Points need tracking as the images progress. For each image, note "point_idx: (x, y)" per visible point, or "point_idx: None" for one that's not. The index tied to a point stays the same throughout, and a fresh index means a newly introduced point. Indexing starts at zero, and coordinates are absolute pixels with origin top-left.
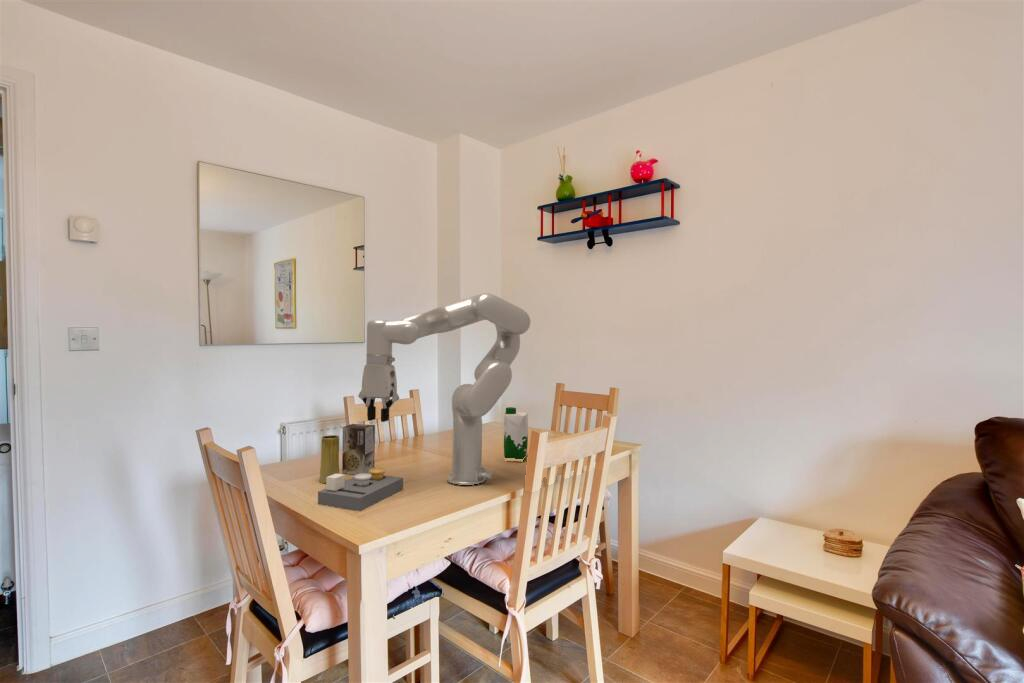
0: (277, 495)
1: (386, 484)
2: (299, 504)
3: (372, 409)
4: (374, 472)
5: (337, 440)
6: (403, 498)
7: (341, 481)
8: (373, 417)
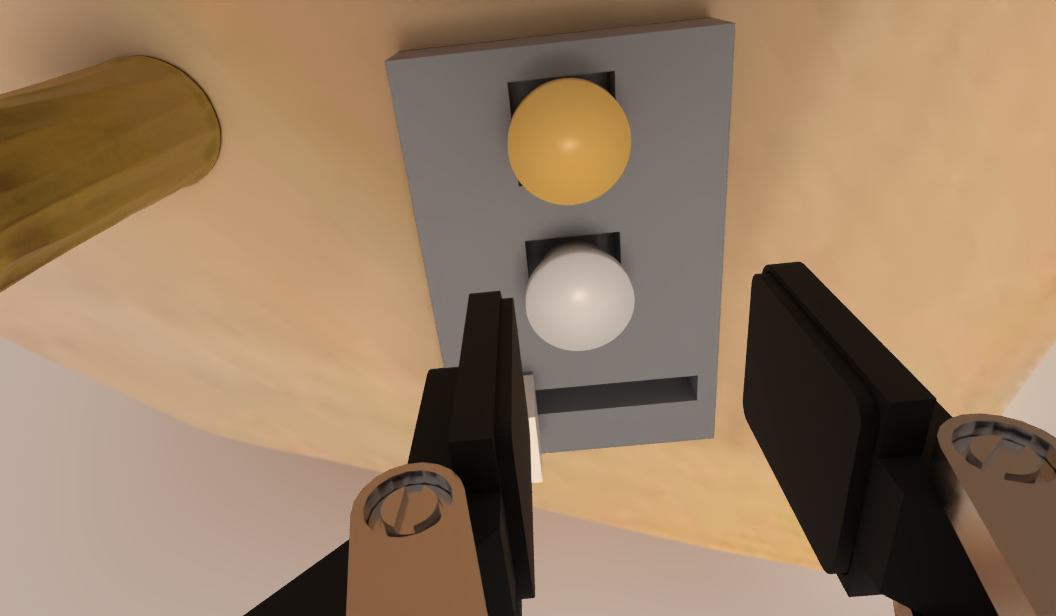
0: (202, 424)
1: (710, 214)
2: (400, 452)
3: (523, 503)
4: (588, 199)
5: (2, 201)
6: (802, 169)
7: (536, 418)
8: (520, 366)
